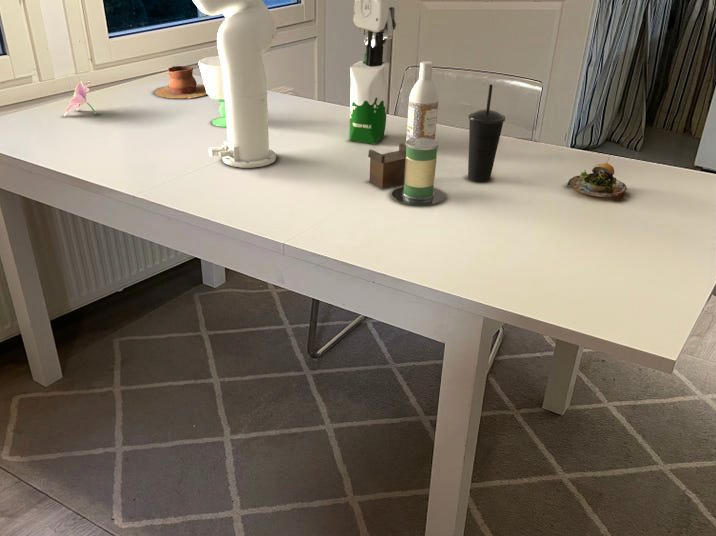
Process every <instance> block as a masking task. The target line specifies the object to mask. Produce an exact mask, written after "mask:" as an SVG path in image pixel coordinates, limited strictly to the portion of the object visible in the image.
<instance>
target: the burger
mask: <svg viewBox="0 0 716 536" xmlns="http://www.w3.org/2000/svg"><path fill="white" fill-rule="evenodd" d="M610 158H611V156H608V160H607V161H606V162H602V163H597V164H595V165H594V166H593V167H592V169H591V172H592V173H587V172H586V171H587V170H586V169H584V171H583V172H582V171H581V172H580V175H575V176H573V177H571V178H569V179H568V181H567V187H569V186H571V187H572V189H574V191H577V192H578V193H581V194H584V195H588V196H592V197H600V198H603V197H604V198H605V197H608V198H609V197H614V196H617V197H616V201H617V202H620V201H622V200H624V198H625V195H627V189H628V188H627V185H626V184H625V183H624V182H623V181H621V180H619V179H617V177H615V176H614V175H615V169H614V166H613V165H611V164H610V163H608V162H609V160H610Z"/></svg>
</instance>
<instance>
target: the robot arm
mask: <svg viewBox="0 0 716 536" xmlns="http://www.w3.org/2000/svg"><path fill="white" fill-rule="evenodd" d="M192 2H193V4H194V5H195V6H196V7H197V9H198V10H199V12H201V13H203V14H204V15H206V16H210V17H214V16H220V15H223V17H224V18H225V19H224V20H223V21H222V23H221V24H220V26H219V28H218V31H217V36H216V45H217V53H218V56H219V57H220V61H221V66H222V73H223V83H224V94H225V107H226V121H227V127H226V133H227V134H226V135H227V140H223V144H221V146H218V147H217V146H216V147H209V148H208V154H209V157H210V158H213V157H217V156H218V157H219V158H220V159H222V161H223V163H224V164H226V165H228V166H230V167H234V168H243V169H251V168H253V169H254V168H260V167H265V166H268V165H271V164H273V163H274V162H275V161H276V160H277V154H276V152H275V151H274V150H272V149H270V139H269V138H270V137H269V115H268V112H269V111H268V91H267V77H266V76H267V75H266V70H265V65H264V61H263V60H264V59H263V54H264V53H266V52H267V51H268V50H270V48H272V46H274V44H275V41H276V40H277V35H278V29H277V24H276V21H275V18H274V16H273V15H272V13H271V11H270V9H269V8H268V6H267V5H266V3H265V2H264V0H192ZM399 12H400V0H354V5H353V18H352V19H353V24H354V25H355V26H356V27H357V28H358V29H359V31H360V32H361V33H362V34H363V35H364V44H365V45H366V47H365V53H366V63H365V64H366V65H367V66H370V67H375V66H381V65H382V62H383V58H384V46H386V41H387V40H392V39H393V38H394V31H395V30H396V29H397V27H398V24H399V23H398V22H399Z"/></svg>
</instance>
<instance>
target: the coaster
mask: <svg viewBox="0 0 716 536" xmlns="http://www.w3.org/2000/svg"><path fill="white" fill-rule="evenodd" d="M403 190H404V186H400V187H398V188H396V189H394V190H392V191H391V198H392V199H393V200H394V201H395V202H396V203H398V204H402V205H406V206H409V207H410V206H411V207H430V206H434V205H438V204H440V203H442V202H443V201H444V200H445V194H444V193H443V192H442V191H441V190H439V189H437V188H434V189H433V192H434V197H433V198H431V199H429V200H424V201H416V200H410V199H407V198H405V197H404V196H403V195H402V192H403Z"/></svg>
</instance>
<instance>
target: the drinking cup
mask: <svg viewBox="0 0 716 536" xmlns="http://www.w3.org/2000/svg"><path fill="white" fill-rule="evenodd" d="M493 87H494V85H493V84H489V85H488V93H487V101H486V108H485V109H479V110H476V111H474V112H470V113H469V114H468V120H469V127H468V130H469V131H468V158H467V160H468V161H467V179H468V180H469V182H472V183H479V184H483V183H488V182H489V181H490V180H491V176H492V172H493V169H494V164H495V159H496V157H497V156H496V155H497V151H498V147H499V143H500V138H501V134H502V129H503V126H504V122H505V121H506V116H505V115H504V114H503V113H500V112H498V111H497V110H493V109H491V101H492V94H493Z"/></svg>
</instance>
